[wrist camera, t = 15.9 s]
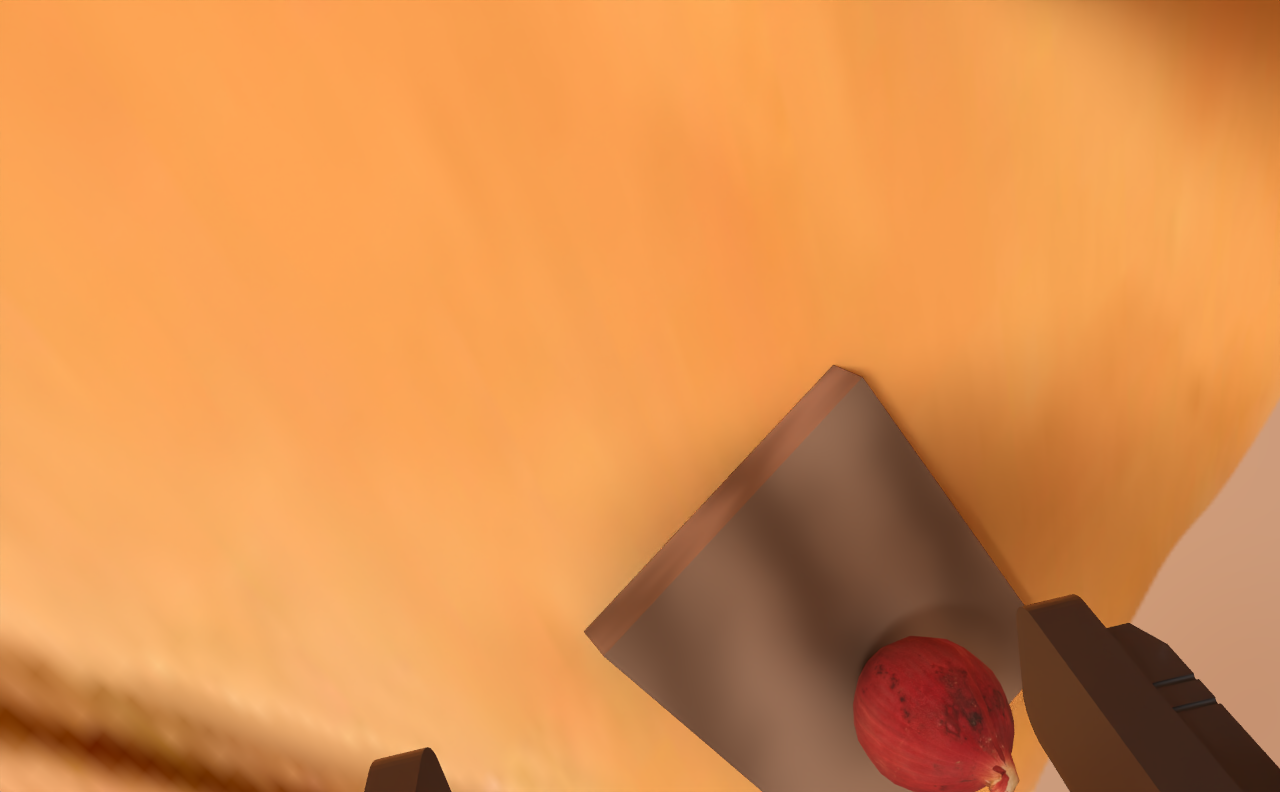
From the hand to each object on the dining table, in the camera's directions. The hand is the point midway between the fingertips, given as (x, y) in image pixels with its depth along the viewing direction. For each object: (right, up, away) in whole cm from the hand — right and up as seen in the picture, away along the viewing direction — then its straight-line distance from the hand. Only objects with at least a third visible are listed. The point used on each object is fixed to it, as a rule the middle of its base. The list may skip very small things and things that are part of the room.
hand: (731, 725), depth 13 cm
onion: (+8, -7, +28) cm, 30 cm away
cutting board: (+7, -6, +29) cm, 31 cm away
